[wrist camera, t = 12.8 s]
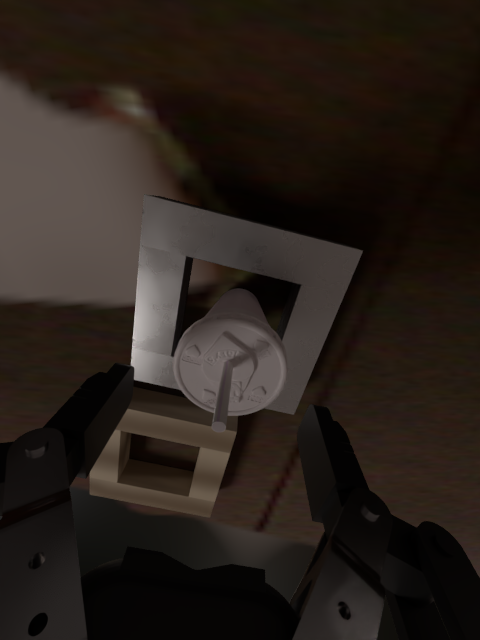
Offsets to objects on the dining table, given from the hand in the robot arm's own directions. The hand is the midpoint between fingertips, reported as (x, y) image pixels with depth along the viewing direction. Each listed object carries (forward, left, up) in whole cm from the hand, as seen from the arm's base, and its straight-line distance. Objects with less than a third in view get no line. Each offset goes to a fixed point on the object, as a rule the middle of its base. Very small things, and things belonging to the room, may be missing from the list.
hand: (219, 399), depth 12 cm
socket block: (+18, -4, -12) cm, 22 cm away
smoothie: (0, 0, -12) cm, 12 cm away
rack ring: (0, 0, -12) cm, 12 cm away
